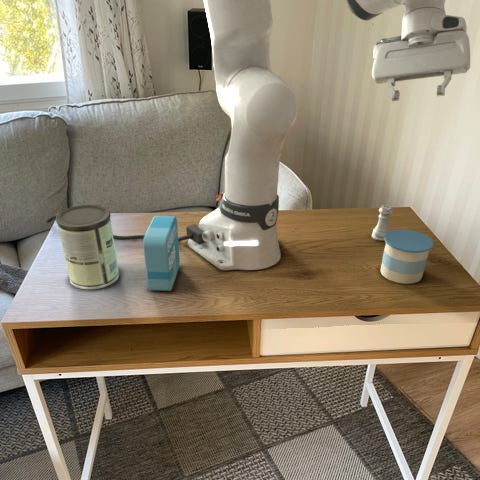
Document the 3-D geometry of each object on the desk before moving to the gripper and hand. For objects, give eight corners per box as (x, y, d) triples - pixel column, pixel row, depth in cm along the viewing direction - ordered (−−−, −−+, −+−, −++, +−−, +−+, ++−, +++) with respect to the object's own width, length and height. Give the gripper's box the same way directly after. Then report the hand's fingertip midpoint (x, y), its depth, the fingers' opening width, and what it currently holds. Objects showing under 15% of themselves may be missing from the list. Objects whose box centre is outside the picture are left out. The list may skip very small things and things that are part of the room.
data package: (170, 294, 101) (166, 240, 94) (148, 293, 101) (142, 239, 94) (180, 264, 110) (176, 213, 103) (159, 263, 110) (155, 213, 103)
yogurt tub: (369, 273, 108) (375, 240, 104) (392, 257, 114) (399, 225, 109) (411, 290, 103) (419, 255, 98) (432, 272, 109) (441, 239, 104)
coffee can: (71, 267, 109) (58, 205, 101) (119, 263, 110) (111, 203, 102) (66, 292, 101) (52, 227, 92) (118, 288, 102) (109, 224, 94)
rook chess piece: (368, 238, 122) (373, 207, 117) (375, 232, 125) (381, 201, 120) (385, 243, 120) (392, 212, 115) (392, 236, 123) (399, 206, 118)
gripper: (371, 33, 110) (366, 97, 111) (473, 16, 102) (467, 86, 102) (376, 46, 116) (372, 107, 117) (473, 31, 107) (468, 97, 108)
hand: (417, 97), depth 110 cm, fingers open, 8 cm apart
